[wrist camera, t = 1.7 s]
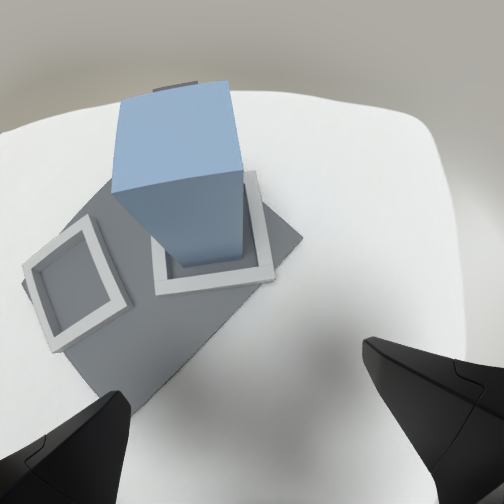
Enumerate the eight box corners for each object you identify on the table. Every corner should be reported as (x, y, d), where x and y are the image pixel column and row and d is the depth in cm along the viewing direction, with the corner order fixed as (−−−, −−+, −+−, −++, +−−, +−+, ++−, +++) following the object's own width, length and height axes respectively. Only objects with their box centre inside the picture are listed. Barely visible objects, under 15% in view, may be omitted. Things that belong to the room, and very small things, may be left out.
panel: (131, 425, 19) (120, 435, 16) (25, 285, 21) (10, 281, 19) (314, 236, 23) (321, 226, 21) (179, 126, 26) (175, 110, 23)
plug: (242, 259, 21) (243, 169, 9) (183, 268, 21) (111, 193, 9) (232, 195, 23) (225, 69, 10) (177, 204, 22) (123, 88, 10)
